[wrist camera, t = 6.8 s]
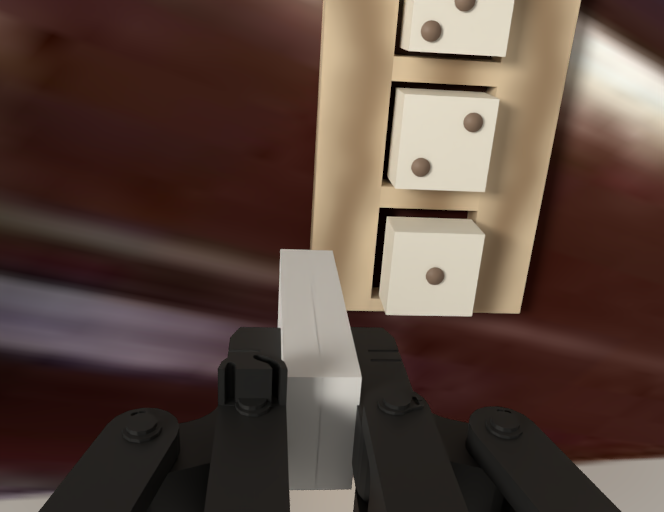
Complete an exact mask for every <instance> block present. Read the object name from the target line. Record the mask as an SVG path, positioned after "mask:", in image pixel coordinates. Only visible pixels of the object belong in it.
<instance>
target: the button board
mask: <svg viewBox="0 0 664 512" xmlns="http://www.w3.org/2000/svg"><path fill="white" fill-rule="evenodd" d="M580 3H581V0H514V6H513V12H512V19H511V25H510V31H509V38H508V44H507V50H506V56H505V57H499V56H492V57H491V60H484V59H467V58H450V57H433V56H417V55H400V54H394V49H395V39H396V28H397V18H398V7H399V0H323V15H322V34H321V52H320V71H319V90H318V109H317V127H316V146H315V165H314V184H313V202H312V221H311V240H310V250H329V251H333V255H334V259H335V263H336V268H337V272H338V276H339V281H340V285H341V289H342V294H343V298H344V302H345V307H346V310H349V311H384V308H383V305H382V302H381V300H380V297H379V289H380V287H372V280H373V269H374V259H375V248H376V238H377V227H378V217H379V208H408V209H437V210H466V211H468V216H467V219H472V220H473V222H474V223H475V224H476V225H477V226H478V227H479V228H480V229H481V231H482V232H483V233H484V234H485V239H484V245H483V251H482V257H481V263H480V269H479V275H478V281H477V288H476V294H475V300H474V306H473V312H472V313H520V309H521V304H522V299H523V294H524V288H525V283H526V278H527V273H528V268H529V263H530V258H531V253H532V248H533V243H534V237H535V232H536V227H537V222H538V217H539V212H540V207H541V202H542V197H543V191H544V186H545V181H546V176H547V171H548V166H549V161H550V156H551V151H552V146H553V140H554V135H555V130H556V125H557V120H558V115H559V110H560V105H561V100H562V95H563V89H564V84H565V79H566V74H567V69H568V64H569V59H570V54H571V49H572V44H573V38H574V33H575V28H576V23H577V18H578V13H579V8H580ZM391 81H403V82H421V83H439V84H457V85H475V86H487V90H486V93H487V94H489V95H492V96H494V97H496V98H498V99H500V100H499V107H498V113H497V119H496V125H495V132H494V138H493V144H492V150H491V157H490V163H489V169H488V175H487V182H486V188H485V192H470V191H443V190H417V189H395V188H394V186H393V185H392V183H391V182H390V180H389V179H382V175H383V165H384V154H385V144H386V133H387V123H388V112H389V102H390V91H391Z"/></svg>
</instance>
